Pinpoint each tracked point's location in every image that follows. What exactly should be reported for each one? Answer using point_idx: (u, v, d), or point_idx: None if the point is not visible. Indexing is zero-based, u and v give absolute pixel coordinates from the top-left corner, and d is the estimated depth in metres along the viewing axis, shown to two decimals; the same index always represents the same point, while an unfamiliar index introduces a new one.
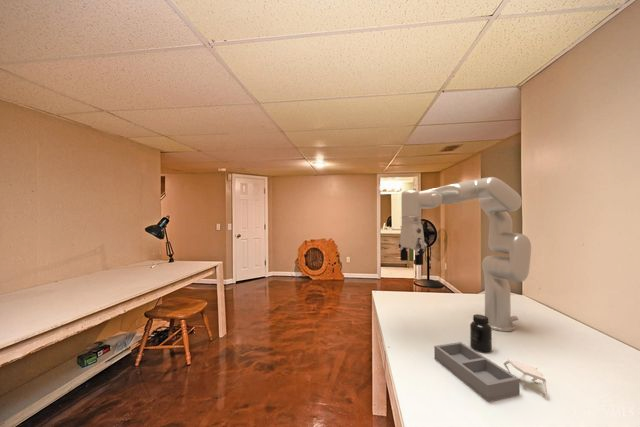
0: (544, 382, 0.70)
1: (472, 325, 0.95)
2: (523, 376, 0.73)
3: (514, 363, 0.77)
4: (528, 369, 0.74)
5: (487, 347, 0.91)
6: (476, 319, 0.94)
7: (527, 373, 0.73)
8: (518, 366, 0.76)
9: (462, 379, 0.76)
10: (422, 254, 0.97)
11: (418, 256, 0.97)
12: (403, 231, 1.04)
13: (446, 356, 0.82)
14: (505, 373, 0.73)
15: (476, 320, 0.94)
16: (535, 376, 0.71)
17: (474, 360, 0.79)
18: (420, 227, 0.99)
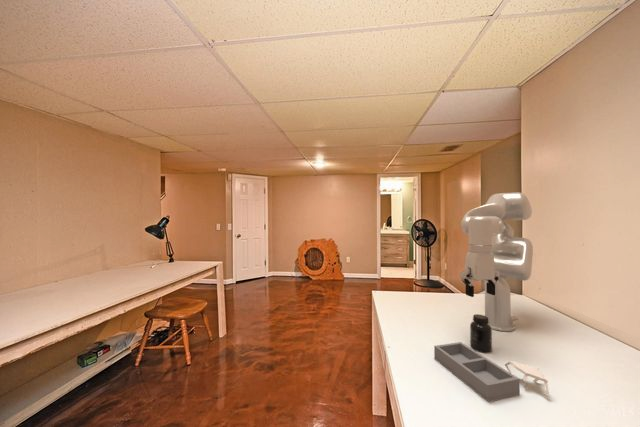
0: (546, 383, 0.69)
1: (472, 325, 0.95)
2: (525, 377, 0.72)
3: (515, 364, 0.77)
4: (529, 370, 0.74)
5: (487, 347, 0.91)
6: (476, 319, 0.94)
7: (529, 374, 0.72)
8: (519, 367, 0.75)
9: (462, 379, 0.76)
10: None
11: None
12: (483, 262, 0.92)
13: (446, 356, 0.82)
14: (505, 373, 0.73)
15: (476, 320, 0.94)
16: (537, 377, 0.71)
17: (474, 360, 0.79)
18: None
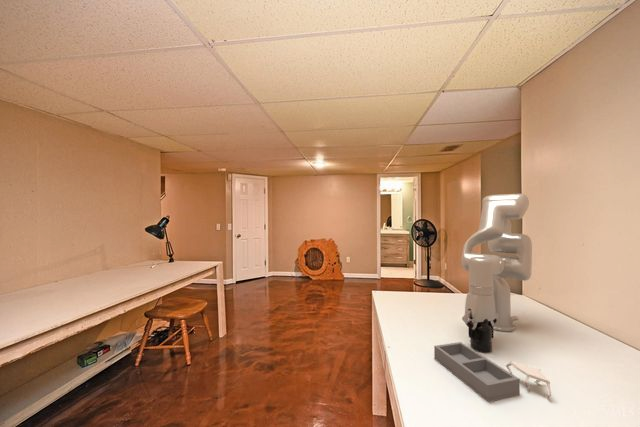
0: (548, 384, 0.69)
1: None
2: (527, 378, 0.72)
3: (517, 365, 0.76)
4: (531, 371, 0.73)
5: (487, 347, 0.91)
6: None
7: (531, 375, 0.72)
8: (521, 368, 0.75)
9: (462, 379, 0.76)
10: (489, 324, 0.96)
11: (492, 328, 0.95)
12: (483, 304, 0.92)
13: (446, 356, 0.82)
14: (505, 373, 0.73)
15: None
16: (539, 378, 0.70)
17: (474, 360, 0.79)
18: None
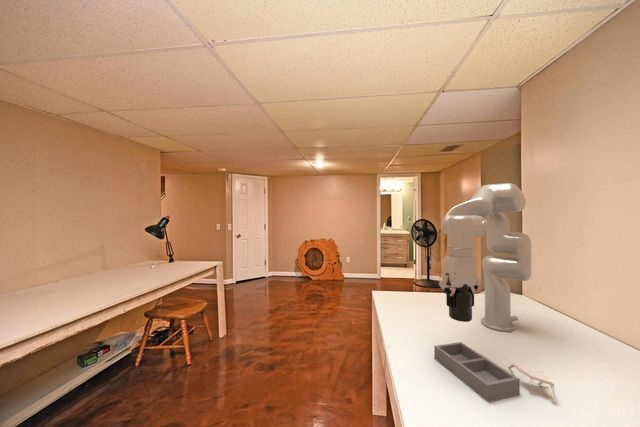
0: (552, 386, 0.68)
1: None
2: (530, 381, 0.71)
3: (520, 367, 0.75)
4: (535, 373, 0.72)
5: (466, 315, 0.81)
6: None
7: (534, 377, 0.71)
8: (524, 370, 0.74)
9: (462, 379, 0.76)
10: None
11: None
12: (462, 267, 0.82)
13: (446, 356, 0.82)
14: (505, 373, 0.73)
15: None
16: (543, 380, 0.69)
17: (474, 360, 0.79)
18: None
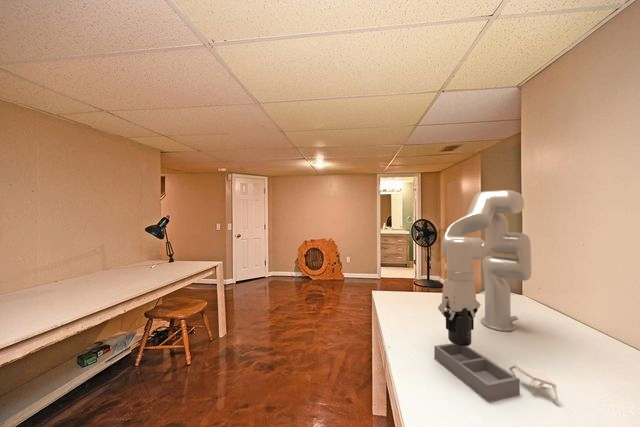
0: (554, 388, 0.67)
1: None
2: (532, 382, 0.70)
3: (521, 368, 0.75)
4: (536, 374, 0.72)
5: (465, 339, 0.80)
6: None
7: (536, 378, 0.70)
8: (526, 371, 0.73)
9: (462, 379, 0.76)
10: (469, 314, 0.86)
11: None
12: (462, 291, 0.81)
13: (446, 356, 0.82)
14: (505, 373, 0.73)
15: None
16: (545, 381, 0.69)
17: (474, 360, 0.79)
18: None
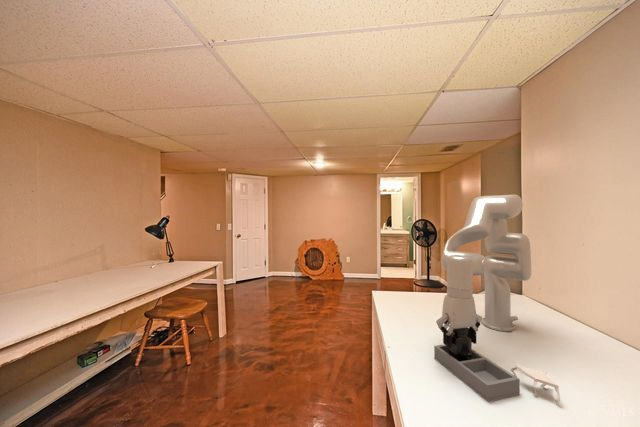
0: (557, 389, 0.67)
1: None
2: (534, 383, 0.70)
3: (523, 369, 0.74)
4: (538, 375, 0.71)
5: None
6: (454, 329, 0.83)
7: (538, 380, 0.70)
8: (528, 372, 0.73)
9: (462, 379, 0.76)
10: None
11: None
12: (462, 308, 0.81)
13: (446, 356, 0.82)
14: (505, 373, 0.73)
15: (454, 330, 0.83)
16: (547, 383, 0.68)
17: (474, 360, 0.79)
18: None
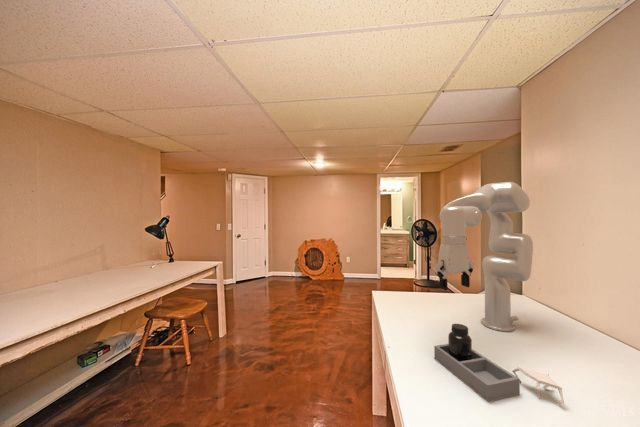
0: (560, 391, 0.66)
1: (450, 336, 0.84)
2: (537, 385, 0.69)
3: (525, 371, 0.73)
4: (541, 377, 0.71)
5: None
6: (454, 329, 0.83)
7: (541, 381, 0.69)
8: (530, 374, 0.72)
9: (462, 379, 0.76)
10: None
11: None
12: (456, 254, 0.89)
13: (446, 356, 0.82)
14: (505, 373, 0.73)
15: (454, 330, 0.83)
16: (550, 384, 0.68)
17: (474, 360, 0.79)
18: None
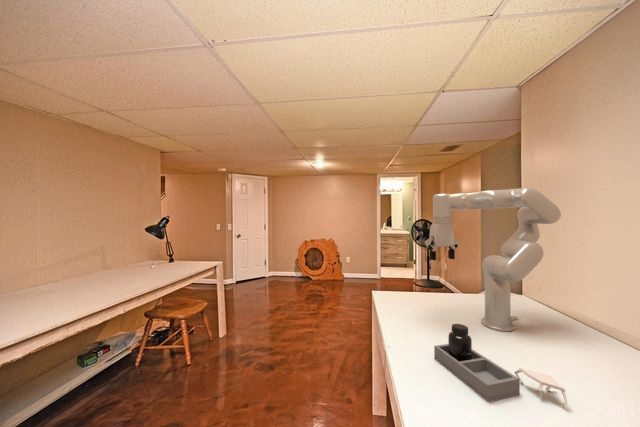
0: (563, 392, 0.66)
1: (450, 336, 0.84)
2: (540, 387, 0.68)
3: (527, 372, 0.73)
4: (544, 378, 0.70)
5: None
6: (454, 329, 0.83)
7: (544, 383, 0.68)
8: (533, 375, 0.71)
9: (462, 379, 0.76)
10: None
11: None
12: (443, 231, 1.10)
13: (446, 356, 0.82)
14: (505, 373, 0.73)
15: (454, 330, 0.83)
16: (553, 386, 0.67)
17: (474, 360, 0.79)
18: None
